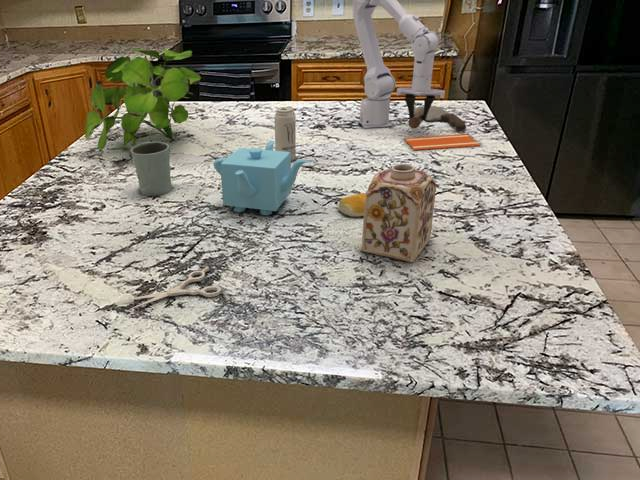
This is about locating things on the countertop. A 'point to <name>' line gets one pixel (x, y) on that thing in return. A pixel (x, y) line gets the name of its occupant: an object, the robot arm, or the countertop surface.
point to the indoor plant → (141, 96)
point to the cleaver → (443, 117)
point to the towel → (441, 142)
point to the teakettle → (257, 178)
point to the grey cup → (152, 167)
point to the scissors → (180, 291)
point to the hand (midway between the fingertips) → (417, 119)
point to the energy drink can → (285, 131)
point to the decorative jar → (398, 213)
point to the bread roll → (353, 205)
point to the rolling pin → (416, 119)
